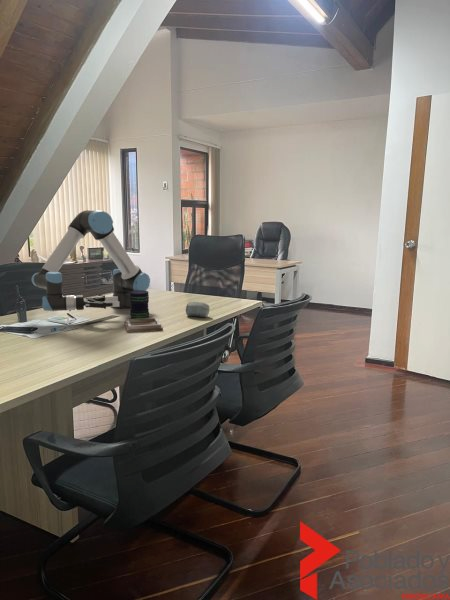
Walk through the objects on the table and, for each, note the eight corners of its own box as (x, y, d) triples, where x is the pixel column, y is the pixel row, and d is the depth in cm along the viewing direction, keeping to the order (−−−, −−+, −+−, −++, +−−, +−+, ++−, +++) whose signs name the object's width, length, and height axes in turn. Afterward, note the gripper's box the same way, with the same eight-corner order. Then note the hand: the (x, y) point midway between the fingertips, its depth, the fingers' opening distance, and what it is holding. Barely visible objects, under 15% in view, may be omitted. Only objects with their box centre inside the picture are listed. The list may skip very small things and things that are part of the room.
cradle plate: (124, 323, 218) (124, 318, 218) (157, 322, 223) (157, 317, 223) (127, 332, 202) (126, 326, 202) (162, 330, 207) (162, 325, 207)
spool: (180, 311, 236) (188, 295, 237) (186, 315, 244) (194, 300, 246) (201, 320, 230) (208, 303, 232) (206, 324, 239) (214, 308, 241)
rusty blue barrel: (150, 320, 226) (150, 293, 223) (132, 322, 222) (131, 293, 220) (146, 316, 235) (146, 289, 232) (128, 317, 231) (128, 290, 229)
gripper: (76, 305, 230) (117, 303, 236) (75, 315, 206) (120, 313, 213) (76, 291, 228) (117, 290, 235) (74, 299, 205) (119, 298, 211)
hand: (118, 301), depth 224 cm, fingers open, 13 cm apart
